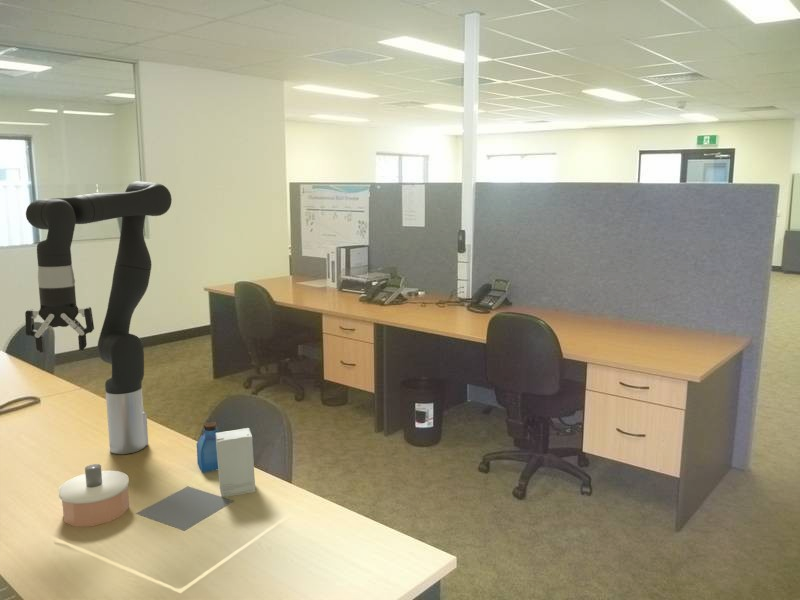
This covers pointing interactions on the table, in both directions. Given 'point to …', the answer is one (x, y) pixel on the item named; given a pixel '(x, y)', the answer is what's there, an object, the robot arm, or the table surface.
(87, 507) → the bowl
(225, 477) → the skincare box
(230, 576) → the table surface
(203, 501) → the mat
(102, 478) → the lid
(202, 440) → the perfume bottle
